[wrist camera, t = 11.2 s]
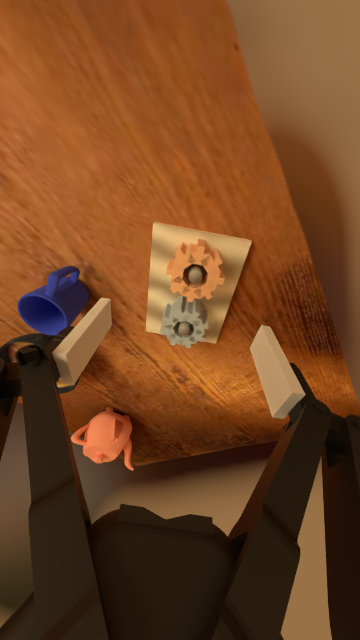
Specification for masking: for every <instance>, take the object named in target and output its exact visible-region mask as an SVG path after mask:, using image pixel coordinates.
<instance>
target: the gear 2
mask: <svg viewBox="0 0 360 640" xmlns="http://www.w3.org/2000/svg"><path fill="white" fill-rule="evenodd" d="M162 321H163V322H162V326H161V329H160V332H161V335H166V336H167V339H169V340H170V344H171V345H173V346H174V345H175V344H176V343H177V344H179V345H186V348H191V347H192V344H196V342H197V341H198V340H199V341H201V342H203V341H204V340H205V329H209V326H208V313H207V310H203V311H202V306H200V300H198V299H197V298H195V300H194V301H193V302H187V299H185V300H184V298H183V296H178V299H177V301H174V302H173V304H172V305H171V304H169V303H167V305H166V306H165V310H164V313H163V316H162ZM181 321H187V322H189V323H190V328H189V334H188V335H186V336H182V335H180V334H179V332H178V330H179V323H180V322H181Z"/></svg>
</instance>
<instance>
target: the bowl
mask: <svg viewBox="0 0 360 640" xmlns="http://www.w3.org/2000/svg"><path fill="white" fill-rule="evenodd" d="M55 336H57V335H47V334H28V335H24V336H20V337H17V338H14V339H12V340H10V341H9V342H7V343H6V344H4V345H3V346H2V347H0V358H2V359H3V360H4V361H5V363H14V362H17V360H16V358H15V353H16V352H17V351H18V349H20V348H22V347H23V346H26V345H29V344H40V345H42V346H43V347H45V346H46V345H47V344H48V343H49V342H50V341H51V340H53V338H54V337H55ZM80 376H81V375H80ZM80 376H79V378H78V379H77V381H76V382H75V384H74V385H71V384H64V383H62V382H61V378H59V380H58V381H57V387H58V391H59V393H66V392H69V391H71V390H73V389H74V388H75V387H76V385H77V384H78V382H79V379H80Z"/></svg>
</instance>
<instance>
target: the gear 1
mask: <svg viewBox="0 0 360 640" xmlns="http://www.w3.org/2000/svg"><path fill="white" fill-rule="evenodd" d="M175 255H176V257H175V259H170V262H169V264H168V266H167V270H166V275H172V277H171V282H172V285H171V288H170V290H171V291H172V292H173V293H176V292H177V291H179V293H180V294H181V295H182V296H187V302H193V299H194V298H198V299H200V298H202V297H204V296H205V297H206V298H207V300H208V299H210V298H212V297H213V293H212V291H214V290H216V286H217V284H221V285H223V283H224V279H225V278H224V275H223V272H222V268H220V267H219V265H220V264H222V263H223V262H222V259H221V256H220V253H219V252H218V250H217V249H215V250H214V251H211V249H210V248H209V247H208V246H205V243H204V240H202V239H198V242H197V244H192V243H191V244H190V245H188V246H187V247H186V246H185V244H184V243H181V244H180V245H179V246H178V248H177V250H176V253H175ZM191 264H197V265H203V266H204V268H205V270H206V271H205V273H203V274H202V280H201V281H200V282H199V283H197V284H194V283H191V282H190V280H189V275H188V273H187V272H186V270H185V268H187V267H188V266H190V265H191Z"/></svg>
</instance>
